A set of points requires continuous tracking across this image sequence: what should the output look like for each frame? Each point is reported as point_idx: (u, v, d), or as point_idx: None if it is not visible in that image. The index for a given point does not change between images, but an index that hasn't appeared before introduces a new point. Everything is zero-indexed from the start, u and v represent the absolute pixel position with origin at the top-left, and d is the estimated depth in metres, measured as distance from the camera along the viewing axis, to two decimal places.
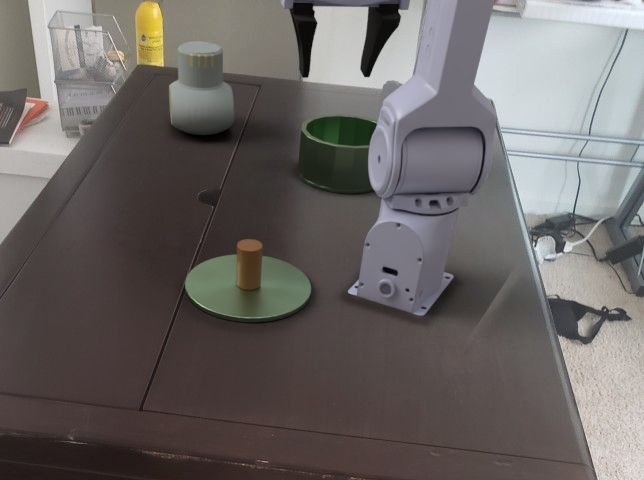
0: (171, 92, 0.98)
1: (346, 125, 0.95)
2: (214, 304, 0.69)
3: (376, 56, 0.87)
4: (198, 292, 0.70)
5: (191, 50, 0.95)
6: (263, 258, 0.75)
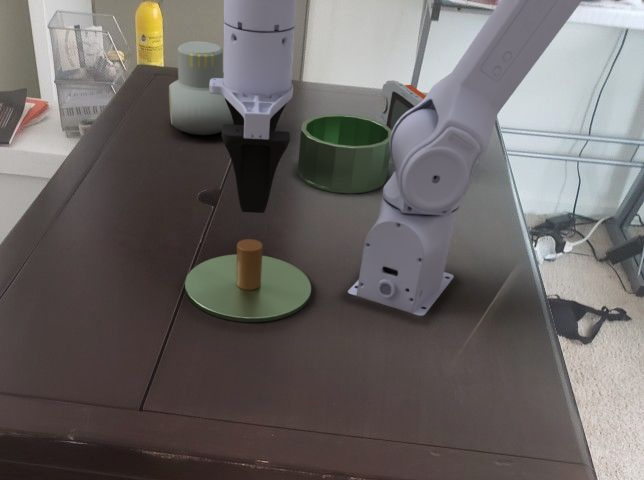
0: (171, 92, 0.98)
1: (346, 125, 0.95)
2: (214, 304, 0.69)
3: None
4: (198, 292, 0.70)
5: (191, 50, 0.95)
6: (263, 258, 0.75)
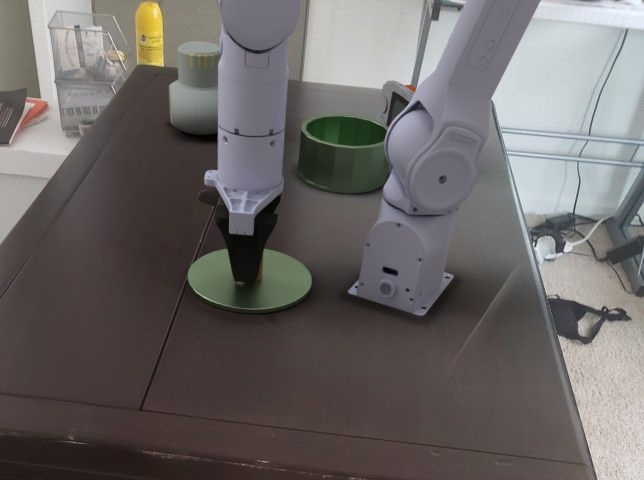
0: (171, 92, 0.98)
1: (346, 125, 0.95)
2: (216, 295, 0.70)
3: None
4: (200, 284, 0.71)
5: (191, 50, 0.95)
6: (265, 251, 0.77)
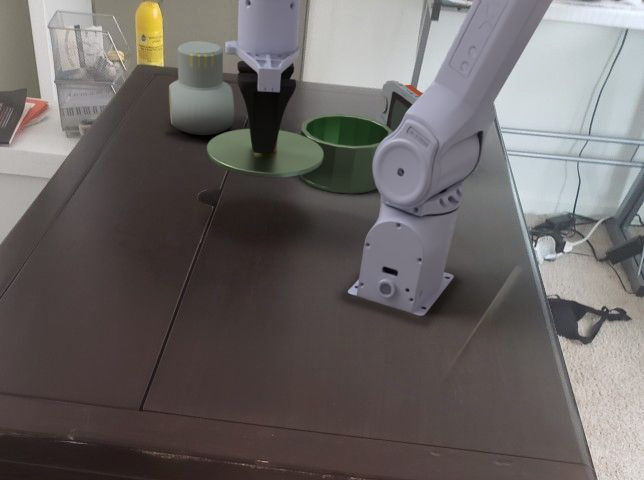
0: (171, 92, 0.98)
1: (346, 125, 0.95)
2: (239, 164, 0.74)
3: None
4: (221, 156, 0.76)
5: (191, 50, 0.95)
6: None
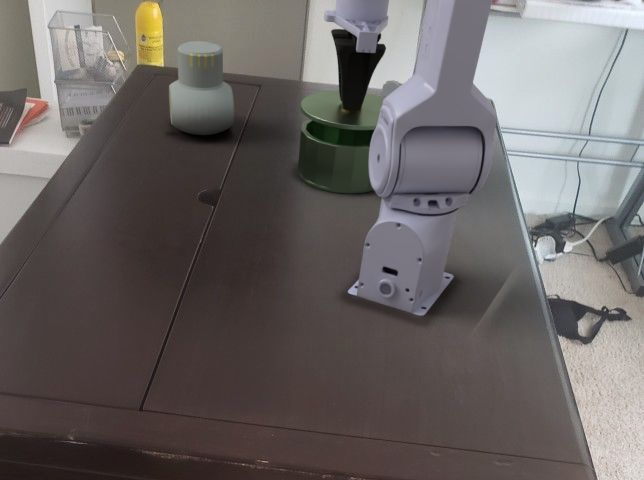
0: (171, 92, 0.98)
1: None
2: (331, 118, 0.86)
3: None
4: (315, 112, 0.87)
5: (191, 50, 0.95)
6: None
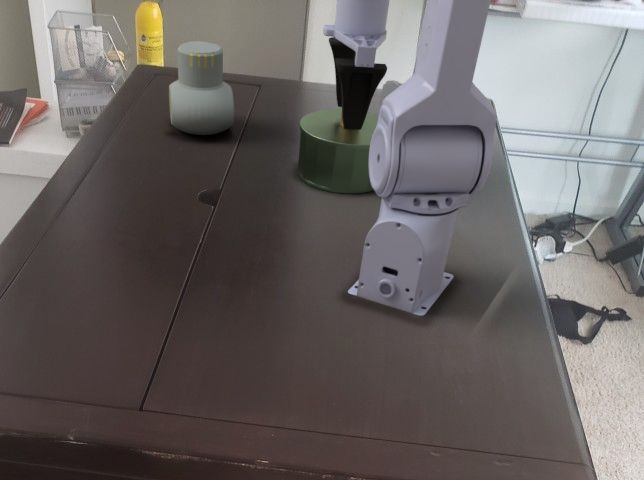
0: (171, 92, 0.98)
1: None
2: (330, 137, 0.87)
3: None
4: (314, 131, 0.88)
5: (191, 50, 0.95)
6: None
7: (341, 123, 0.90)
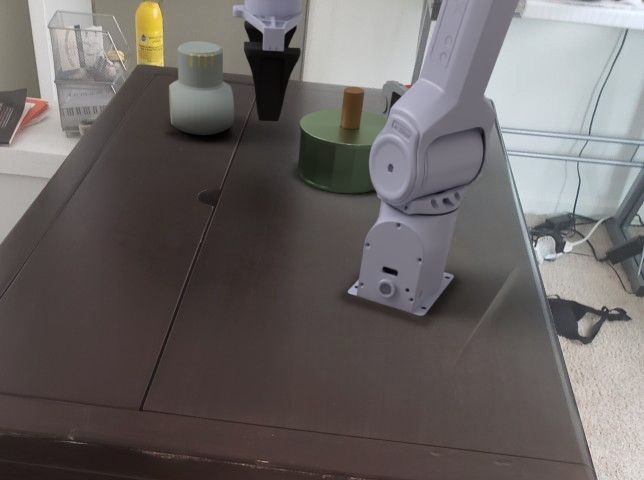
0: (171, 92, 0.98)
1: None
2: (330, 137, 0.87)
3: None
4: (314, 131, 0.88)
5: (191, 50, 0.95)
6: None
7: (341, 123, 0.90)
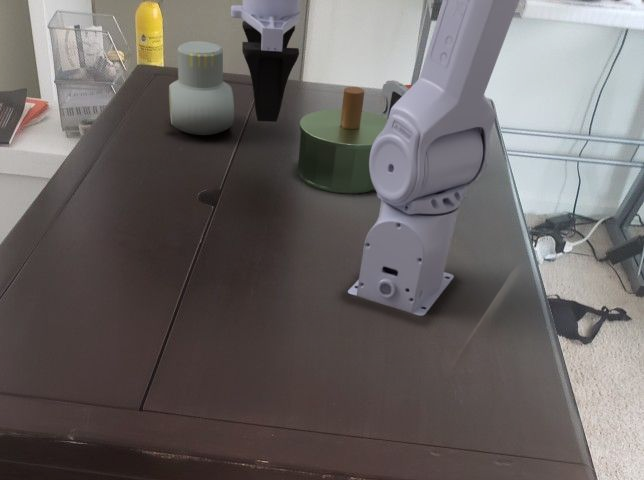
0: (171, 92, 0.98)
1: None
2: (330, 137, 0.87)
3: None
4: (314, 131, 0.88)
5: (191, 50, 0.95)
6: None
7: (341, 123, 0.90)
